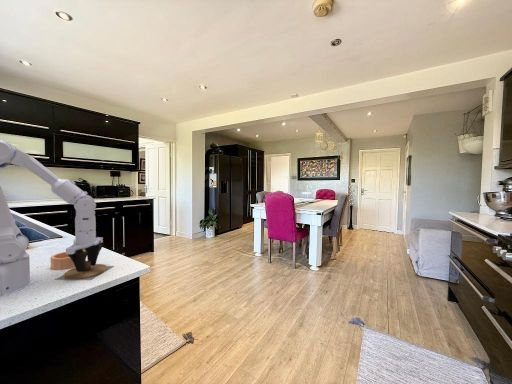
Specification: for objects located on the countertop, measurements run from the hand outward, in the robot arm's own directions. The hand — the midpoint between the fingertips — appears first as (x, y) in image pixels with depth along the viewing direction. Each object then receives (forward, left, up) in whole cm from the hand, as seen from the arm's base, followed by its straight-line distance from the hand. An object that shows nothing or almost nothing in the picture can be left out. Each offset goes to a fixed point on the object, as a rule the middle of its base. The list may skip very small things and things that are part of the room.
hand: (86, 268), depth 79 cm
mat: (0, 0, -2) cm, 2 cm away
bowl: (+7, +12, -2) cm, 14 cm away
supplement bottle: (+21, +18, -2) cm, 28 cm away
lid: (0, 0, -2) cm, 2 cm away
